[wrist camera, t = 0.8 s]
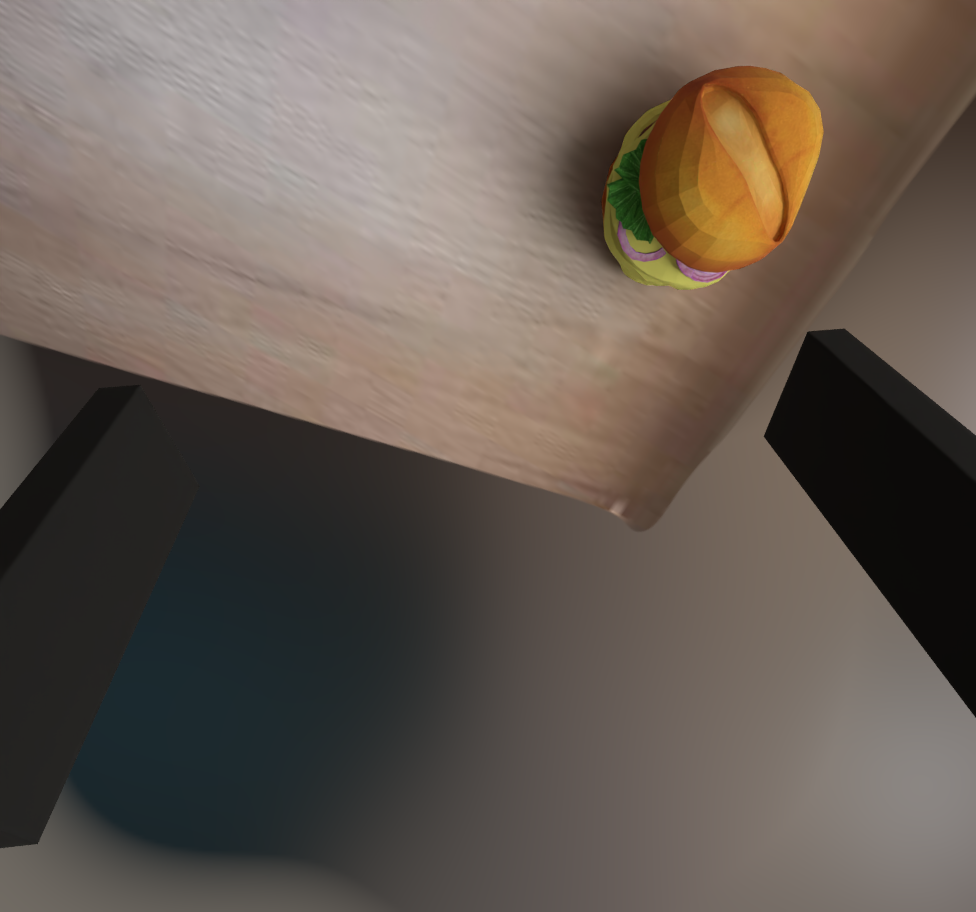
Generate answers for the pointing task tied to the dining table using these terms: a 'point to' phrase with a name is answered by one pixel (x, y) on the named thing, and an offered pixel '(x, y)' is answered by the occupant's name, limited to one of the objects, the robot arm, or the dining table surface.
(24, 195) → the dining table surface
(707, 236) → the cheeseburger
